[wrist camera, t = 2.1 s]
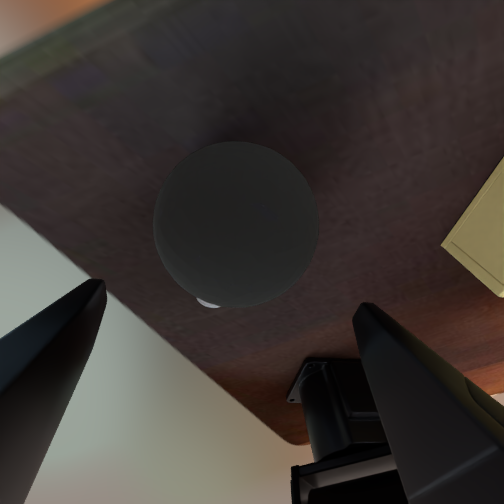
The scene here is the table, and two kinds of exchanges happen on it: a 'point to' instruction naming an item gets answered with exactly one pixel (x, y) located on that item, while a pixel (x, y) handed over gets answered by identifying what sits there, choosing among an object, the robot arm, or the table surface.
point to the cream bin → (482, 234)
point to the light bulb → (235, 224)
